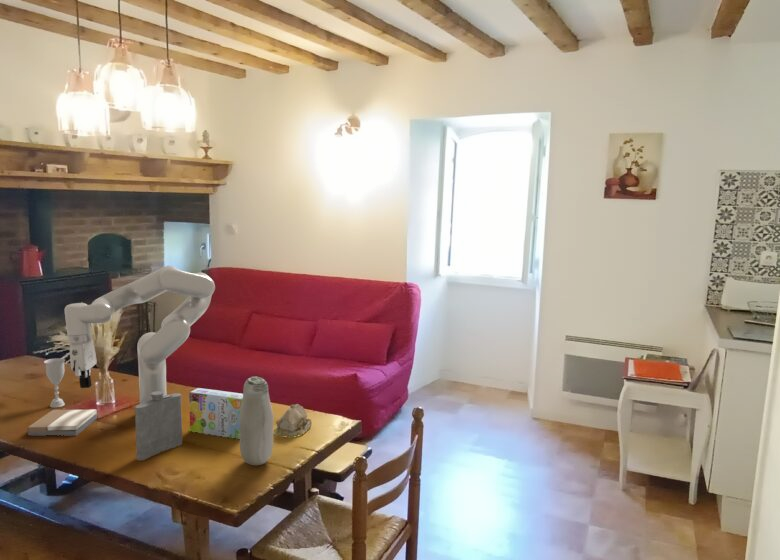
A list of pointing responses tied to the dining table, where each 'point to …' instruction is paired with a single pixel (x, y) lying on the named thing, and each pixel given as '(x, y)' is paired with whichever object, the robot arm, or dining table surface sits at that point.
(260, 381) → the pale grey bottle
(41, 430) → the floor sample board
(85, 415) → the pale plank
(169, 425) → the hip flask
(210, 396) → the snack box
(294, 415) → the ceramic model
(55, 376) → the chalice
